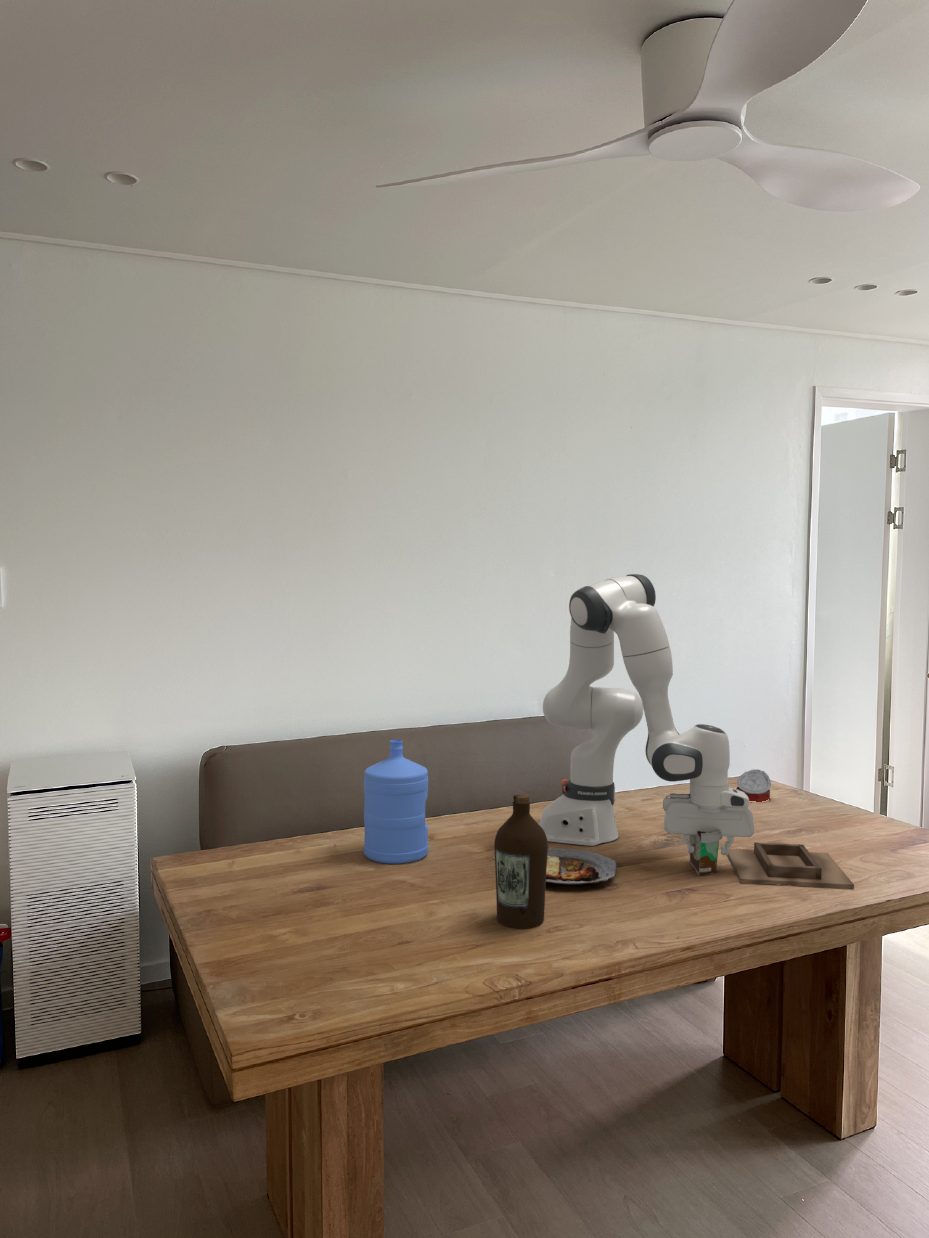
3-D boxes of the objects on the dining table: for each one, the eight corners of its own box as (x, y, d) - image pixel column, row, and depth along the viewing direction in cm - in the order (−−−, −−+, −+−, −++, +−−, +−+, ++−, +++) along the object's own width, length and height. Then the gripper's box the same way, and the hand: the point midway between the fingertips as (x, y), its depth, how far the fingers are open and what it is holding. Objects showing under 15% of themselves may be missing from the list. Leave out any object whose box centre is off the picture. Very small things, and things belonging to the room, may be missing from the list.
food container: (728, 877, 203) (729, 834, 202) (700, 877, 203) (701, 834, 203) (714, 860, 215) (714, 819, 215) (688, 859, 215) (689, 818, 215)
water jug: (399, 869, 208) (399, 749, 206) (350, 856, 217) (350, 741, 215) (441, 852, 220) (441, 739, 218) (393, 840, 229) (393, 732, 228)
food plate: (613, 895, 191) (613, 879, 191) (505, 888, 196) (506, 872, 196) (617, 861, 216) (617, 847, 216) (521, 856, 220) (521, 841, 220)
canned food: (769, 814, 274) (784, 788, 270) (746, 815, 268) (761, 789, 264) (746, 789, 282) (760, 764, 278) (723, 790, 277) (737, 764, 273)
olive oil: (508, 905, 186) (508, 786, 184) (555, 915, 180) (556, 792, 179) (484, 923, 176) (485, 798, 175) (533, 934, 171) (534, 805, 170)
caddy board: (740, 883, 199) (741, 867, 199) (725, 852, 221) (726, 838, 221) (853, 889, 196) (854, 873, 196) (827, 857, 218) (828, 842, 218)
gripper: (664, 796, 207) (663, 855, 207) (756, 800, 204) (754, 859, 204) (662, 789, 213) (661, 846, 214) (751, 793, 210) (750, 851, 211)
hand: (707, 853), depth 209 cm, fingers open, 6 cm apart
